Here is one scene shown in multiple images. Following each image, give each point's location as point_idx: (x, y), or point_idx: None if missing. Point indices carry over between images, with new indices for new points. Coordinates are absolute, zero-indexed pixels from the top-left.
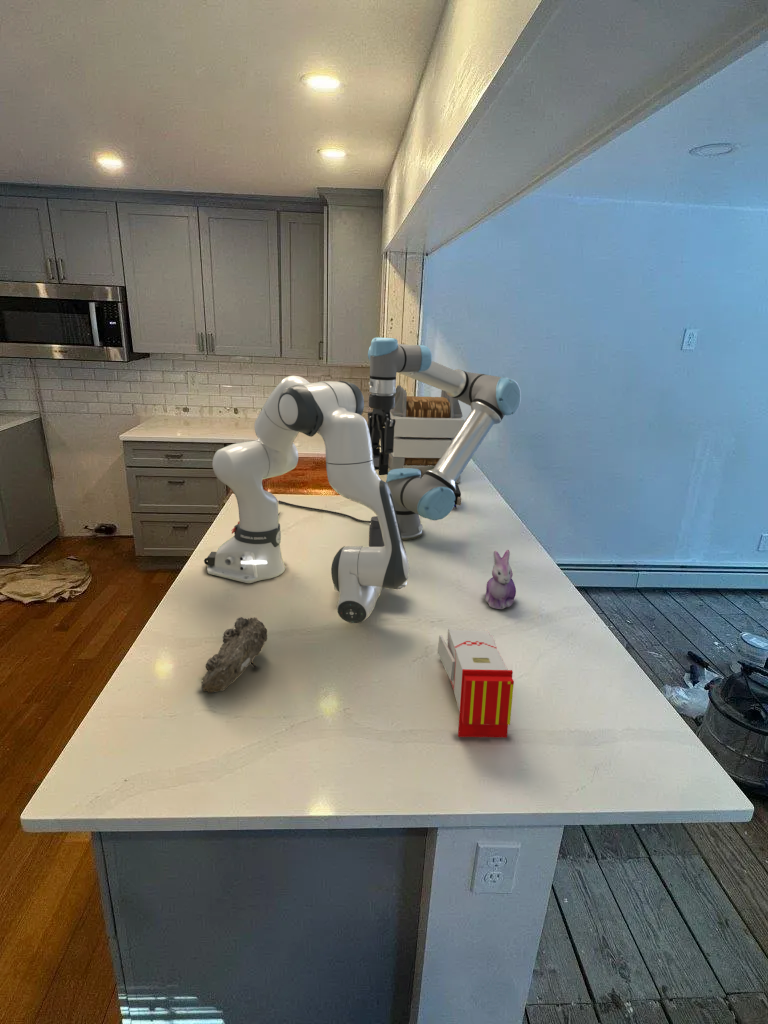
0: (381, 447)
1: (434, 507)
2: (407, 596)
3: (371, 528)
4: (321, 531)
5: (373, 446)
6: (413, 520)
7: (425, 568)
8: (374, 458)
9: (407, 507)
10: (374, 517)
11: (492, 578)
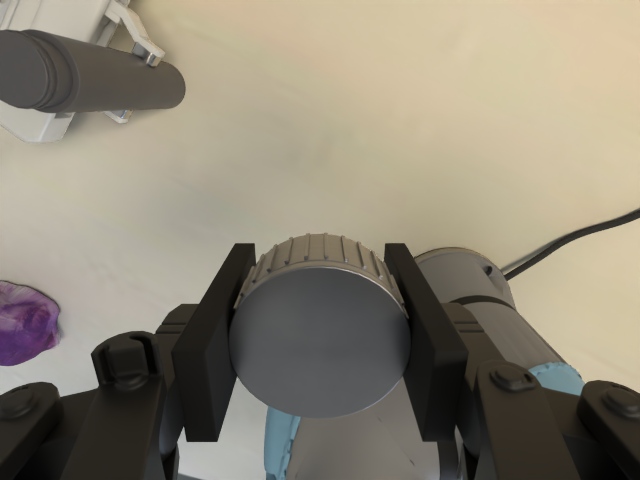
0: (121, 431)
1: None
2: (81, 136)
3: (21, 31)
4: (576, 86)
5: (475, 404)
6: None
7: (218, 252)
8: (271, 276)
9: None
10: (29, 59)
11: (1, 328)
